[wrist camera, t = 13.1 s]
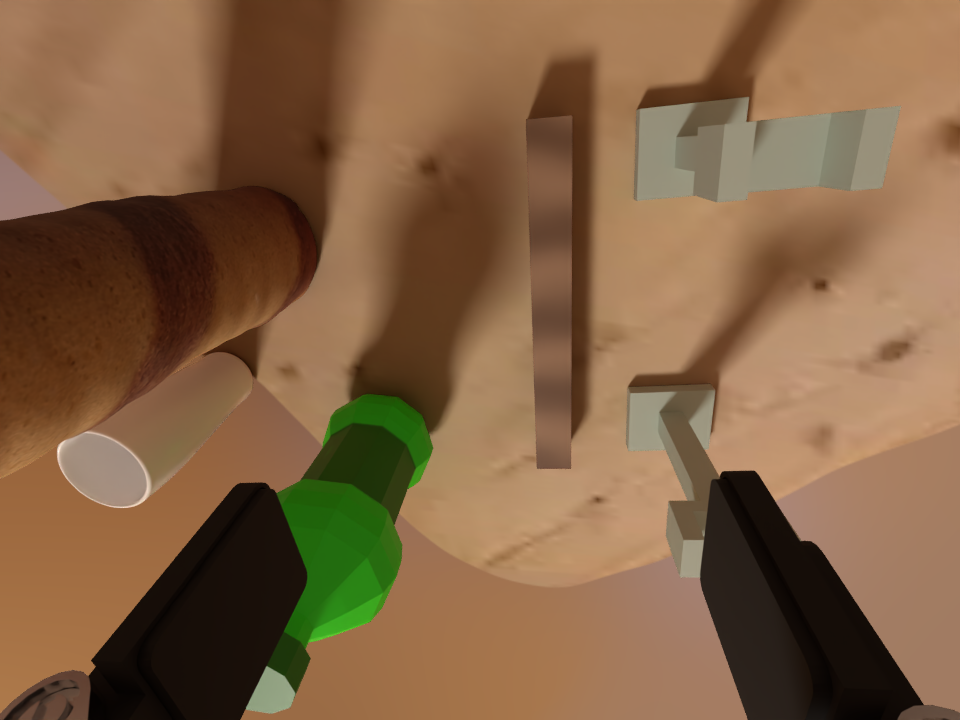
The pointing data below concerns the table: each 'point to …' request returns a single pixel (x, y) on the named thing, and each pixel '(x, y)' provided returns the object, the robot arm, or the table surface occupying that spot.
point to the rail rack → (720, 178)
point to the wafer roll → (132, 301)
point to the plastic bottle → (346, 531)
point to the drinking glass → (155, 432)
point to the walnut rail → (551, 284)
